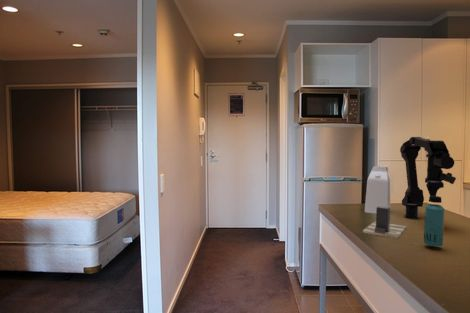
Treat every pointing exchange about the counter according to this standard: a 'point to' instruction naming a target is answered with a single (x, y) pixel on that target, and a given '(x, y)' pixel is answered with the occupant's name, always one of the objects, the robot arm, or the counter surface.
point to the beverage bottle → (434, 223)
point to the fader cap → (383, 218)
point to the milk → (377, 189)
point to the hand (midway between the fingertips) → (433, 200)
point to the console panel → (392, 233)
